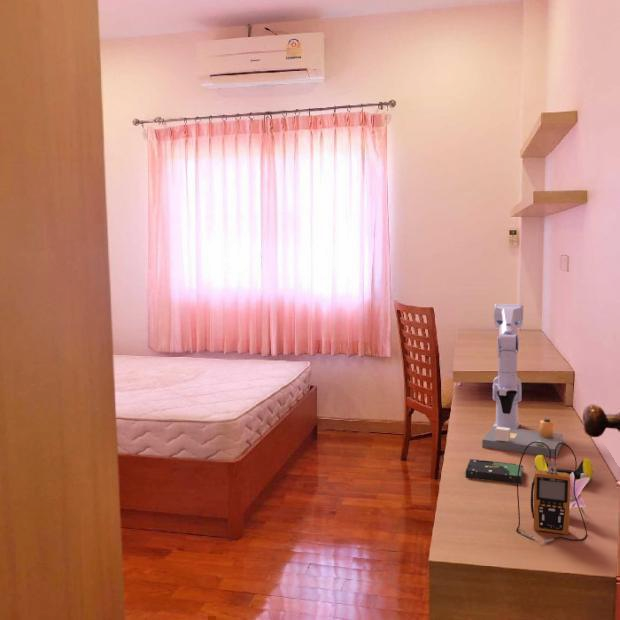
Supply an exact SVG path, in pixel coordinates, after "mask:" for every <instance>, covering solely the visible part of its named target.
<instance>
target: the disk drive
mask: <svg viewBox="0 0 620 620" xmlns="http://www.w3.org/2000/svg"><path fill="white" fill-rule="evenodd" d="M467 463H468V464H467V467H466V468H465V478H466V479H467V478H468V479H473V478H475V479H474V480H482V479H483V481H491V482H499V483H508V484H515V485H517V476H518V469H519V464H517V463H512V462H511V463H508V462H501V461H491V460H490V461H489V460H484V459H483V460H482V459H473V458H470V459H469V462H467ZM523 476H524V465H523V464H521V465H520V470H519V478H518V485H523Z"/></svg>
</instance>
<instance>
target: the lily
mask: <svg viewBox="0 0 620 620" xmlns="http://www.w3.org/2000/svg"><path fill="white" fill-rule="evenodd" d="M589 479H590V478H589V477H587V478H582V479H579V480H576V481H575V495H576V498H577V501H578V504H579V507H580V510H581V513H583V514H585V511H584V509H583V508H586V506H587V505H586V503H585V501H584V499H583V497H582V496H581V492H582V490H583V489H584V487H586V484H587V482H588V481H589ZM587 485H588V484H587ZM573 488H574V473H573V472H572V473H571V474H570V509H569V511H570V510H571V509H572V507H573V508H578V505H577V502H576V499H575V496H574V490H573Z"/></svg>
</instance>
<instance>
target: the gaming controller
mask: <svg viewBox="0 0 620 620" xmlns="http://www.w3.org/2000/svg"><path fill="white" fill-rule="evenodd" d="M533 462H534V463H533V464H534V469H535V470H542V471H548V466H549V462H547V460H546V458H545V456H543V455H536V457H535V458H534V461H533ZM551 472H553V468H552V467H551ZM556 472H561V473H568V474H569V475H570V474H571V473H572V472H573V473H574V477H575V469H566V468H564V469H563V468H556ZM593 474H594V465H593V463H592V461H591V459H589V458H585V457H584V458H583V459H582V460H581V462H580V464H578V467H577V468H576V478H575V481H576V480H579V479H582V478H587V477H589V478H590V479H589V481H588V482H587V484H586V485H588V484H590V483H591V481H592V478H593ZM586 485H585V486H586Z"/></svg>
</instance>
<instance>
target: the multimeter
mask: <svg viewBox="0 0 620 620" xmlns="http://www.w3.org/2000/svg"><path fill="white" fill-rule="evenodd" d="M532 443H542V442H532ZM532 443H530V444H529V445H531V444H532ZM542 444H544V443H542ZM559 444H562V445H563V446H566V447H567V448H568V449H569V451H571V453H572V454H573V458H574V462H575V465H574V466H575V468H574V471H575V477H574V488H573V490H574V496H575V499H576V502H577V505H578V507H577V508H578V510H579V515H580V516H581V519H582V523H583V527H584V530H585V535H584V537H582V538H581V539H577V538H576V539H575V538H574V539H572V538H568V537H563V536H557V537H553V538H549V539H547V540H544V541H543V542H540V540H539V539H538V538H536V537H533V535H530V534H528V533H525V532H522V531H519V528H520V526H521V520H520V517H521V515H520V499H519V484H518V478H519V470H520V465H522V461H523V458H524V455H525V454H526V453H525V451H526V449H527V448H528V446H529V445H528V446H527V447H526V448H525V450H524V452H523V453H522V455H521V457H520V460H519V464H518V465H519V469H518V476H517V484H516V491H517V492H516V493H517V512H518V515H517V516H518V526H517V528H516V531H515V532H517V533H520V534H521V535H522V536H525V537H527V538H530V539H533V540H536V541H539V542H540V543H538V545H543V544H547V543H550V542H553V541H555V540H557V539H564V540H569V541H583V540H585V539H586V538H587V536H588V530H587V527H586V523H585V520H584V517H583V514H582V513H583V512H582V510H581V508H580V507H579V504H578V501H577V498H576V495H575V478H576V470H577V468H578V467H577V464H578V463H577V457H576V455H575V452H574V451H573V449H572V448H571V447H570V446H569V445H567V444H566V443H564V442H563V443H558V444H557V446H558V445H559ZM544 445H545V446H547V445H546V444H544ZM557 446H556V448H555V457H554V461H553V468H552V460H551V459H552V457H551V451H550V449H549V447H548V446H547V448H548V449H549V451H550V456H548V457H549V460H548V465H549V466H548V471H542V470H536V469H535V470H534V477H533V480H532V482H531V490H530V511H531V517H532V519H533V529H534V531H537V532H540V531H541V532H548V533H555V534H561V535H565V536H566V535H568V534H569V533H570V532H569V528H570V525H569V524H570V510H571V509H570V475H569V474H568V473H561V472H556V469H557V460H556V459H557V456H556V449H557ZM551 468H552V469H553V472H551ZM569 509H570V510H569Z"/></svg>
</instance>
